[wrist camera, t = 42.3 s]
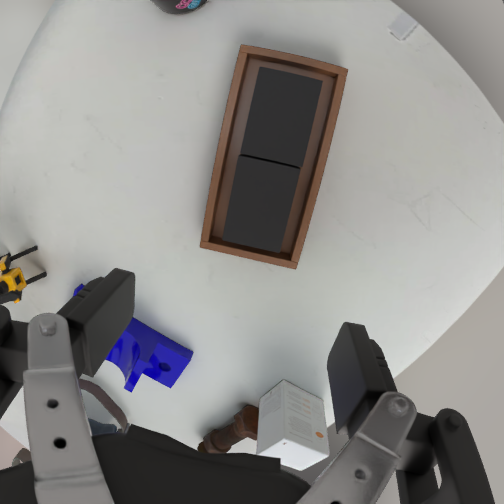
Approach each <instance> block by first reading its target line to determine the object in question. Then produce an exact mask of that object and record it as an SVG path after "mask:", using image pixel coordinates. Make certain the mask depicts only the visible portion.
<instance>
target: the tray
mask: <svg viewBox="0 0 504 504" xmlns="http://www.w3.org/2000/svg"><path fill="white" fill-rule="evenodd" d="M260 66H261V67H266V68H271V69H276V70H281V71H285V72H290V73H294V74H298V75H302V76H306V77H310V78H314V79H318V80H322V81H323V83H322V87H321V92H320V96H319V100H318V105H317V109H316V113H315V118H314V122H313V126H312V130H311V134H310V139H309V143H308V147H307V151H306V155H305V159H304V163H303V167H300V169H301V171H300V175H299V179H298V183H297V187H296V191H295V195H294V199H293V203H292V207H291V211H290V215H289V219H288V223H287V227H286V231H285V235H284V238H283V242H282V246H281V250H280V253H277V252H273V251H268V250H264V249H260V248H255V247H251V246H246V245H242V244H237V243H233V242H228V241H224V240H222V237H223V231H224V226H225V221H226V216H227V210H228V205H229V200H230V195H231V190H232V185H233V180H234V175H235V170H236V165H237V160H238V156H239V155H240V154H241V153H240V151H241V146H242V142H243V137H244V132H245V128H246V123H247V119H248V114H249V110H250V105H251V101H252V97H253V92H254V88H255V84H256V79H257V75H258V71H259V67H260ZM347 72H348V69H346V68H343V67H339V66H336V65H333V64H329V63H326V62H322V61H318V60H314V59H311V58H307V57H303V56H298V55H294V54H290V53H285V52H280V51H275V50H270V49H265V48H260V47H254V46H248V45H241V46H240V50H239V54H238V58H237V62H236V67H235V71H234V75H233V79H232V83H231V88H230V92H229V97H228V101H227V105H226V110H225V115H224V119H223V124H222V129H221V133H220V138H219V143H218V148H217V153H216V158H215V163H214V168H213V173H212V179H211V184H210V189H209V195H208V200H207V206H206V212H205V218H204V223H203V229H202V235H201V242H200V248H205V249H209V250H213V251H218V252H222V253H226V254H231V255H235V256H239V257H244V258H248V259H252V260H257V261H261V262H265V263H270V264H274V265H279V266H283V267H287V268H292V269H296V268H297V265H298V262H299V258H300V255H301V251H302V248H303V245H304V241H305V238H306V234H307V231H308V227H309V224H310V220H311V217H312V213H313V209H314V206H315V202H316V198H317V195H318V191H319V187H320V184H321V180H322V176H323V172H324V168H325V165H326V161H327V157H328V153H329V149H330V145H331V141H332V137H333V133H334V129H335V125H336V120H337V116H338V112H339V108H340V103H341V99H342V95H343V90H344V86H345V81H346V76H347Z"/></svg>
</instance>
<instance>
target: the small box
mask: <svg viewBox="0 0 504 504" xmlns="http://www.w3.org/2000/svg"><path fill="white" fill-rule="evenodd" d="M256 455H261V456H268V457H276V458H281V464H282V465H285V466H288V467H291V468H294V469H297V470H300V471H301V470H303V469H305V468H307V467H309V466H311V465H313V464H315V463H317V462H319V461H321V460H323V459H324V458H326V457H328V456H329V455H330V453H329V444H328V435H327V427H326V419H325V412H324V404H323V400H321V399H319V398H317V397H315V396H313V395H311V394H310V393H308V392H306V391H304V390H302V389H300V388H298V387H296V386H294V385H292V384H291V383H289V382H287V381H285V380H283V381H281V382H280V383H279V384H278V385H276V386H275V387H274V388H273V389H272V390H270V391H269V392H268V393H267V394H265V395H264V396H263V397H262V398H260V404H259V420H258V436H257V451H256Z"/></svg>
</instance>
